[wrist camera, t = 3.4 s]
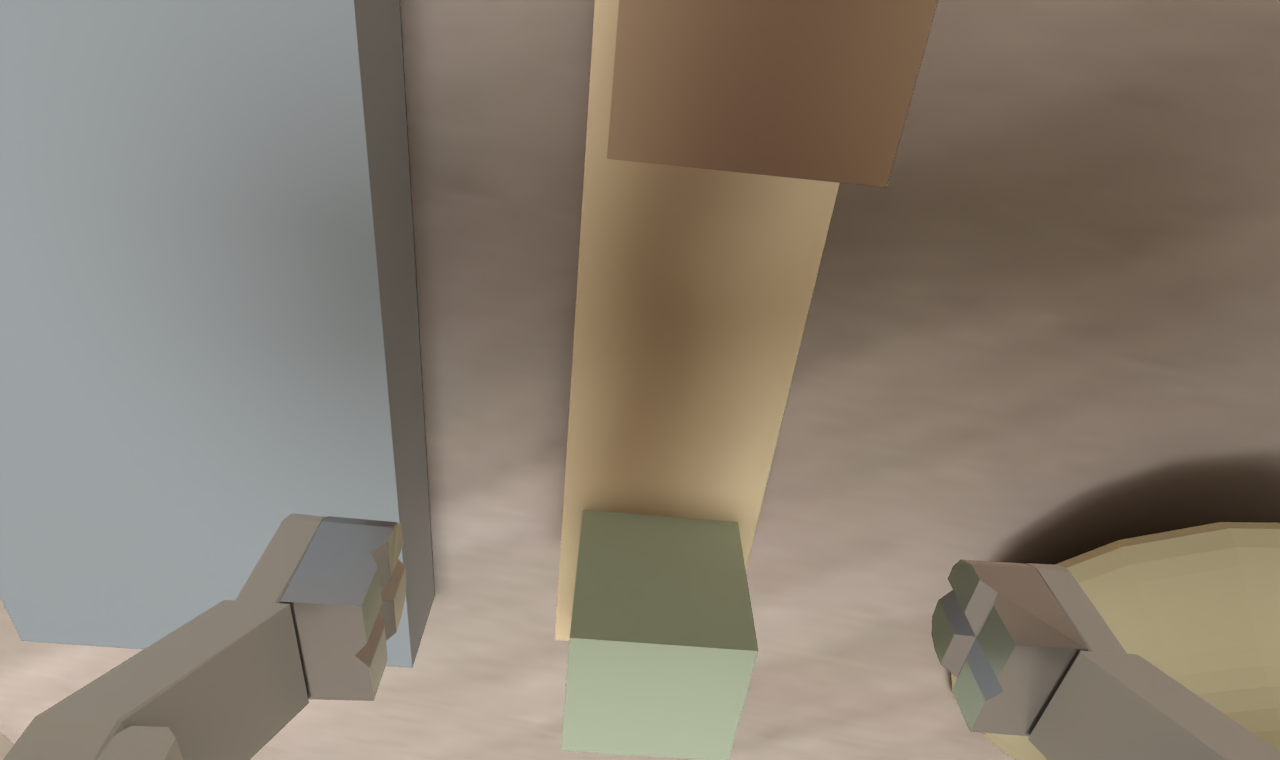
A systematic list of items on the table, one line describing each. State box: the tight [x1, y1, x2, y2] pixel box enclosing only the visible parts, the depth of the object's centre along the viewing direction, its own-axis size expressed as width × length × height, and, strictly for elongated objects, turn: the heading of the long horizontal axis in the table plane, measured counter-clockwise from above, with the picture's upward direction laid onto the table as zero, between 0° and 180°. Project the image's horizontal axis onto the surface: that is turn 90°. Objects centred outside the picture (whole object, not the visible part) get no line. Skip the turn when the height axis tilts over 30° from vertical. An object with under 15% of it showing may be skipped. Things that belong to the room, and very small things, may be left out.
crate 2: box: [607, 0, 938, 188], centre depth 11 cm, size 4×4×4 cm
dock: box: [0, 0, 435, 668], centre depth 18 cm, size 13×26×3 cm, turn 174°
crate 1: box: [561, 510, 758, 760], centre depth 19 cm, size 4×4×4 cm
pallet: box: [555, 0, 840, 641], centre depth 18 cm, size 5×20×4 cm, turn 174°
